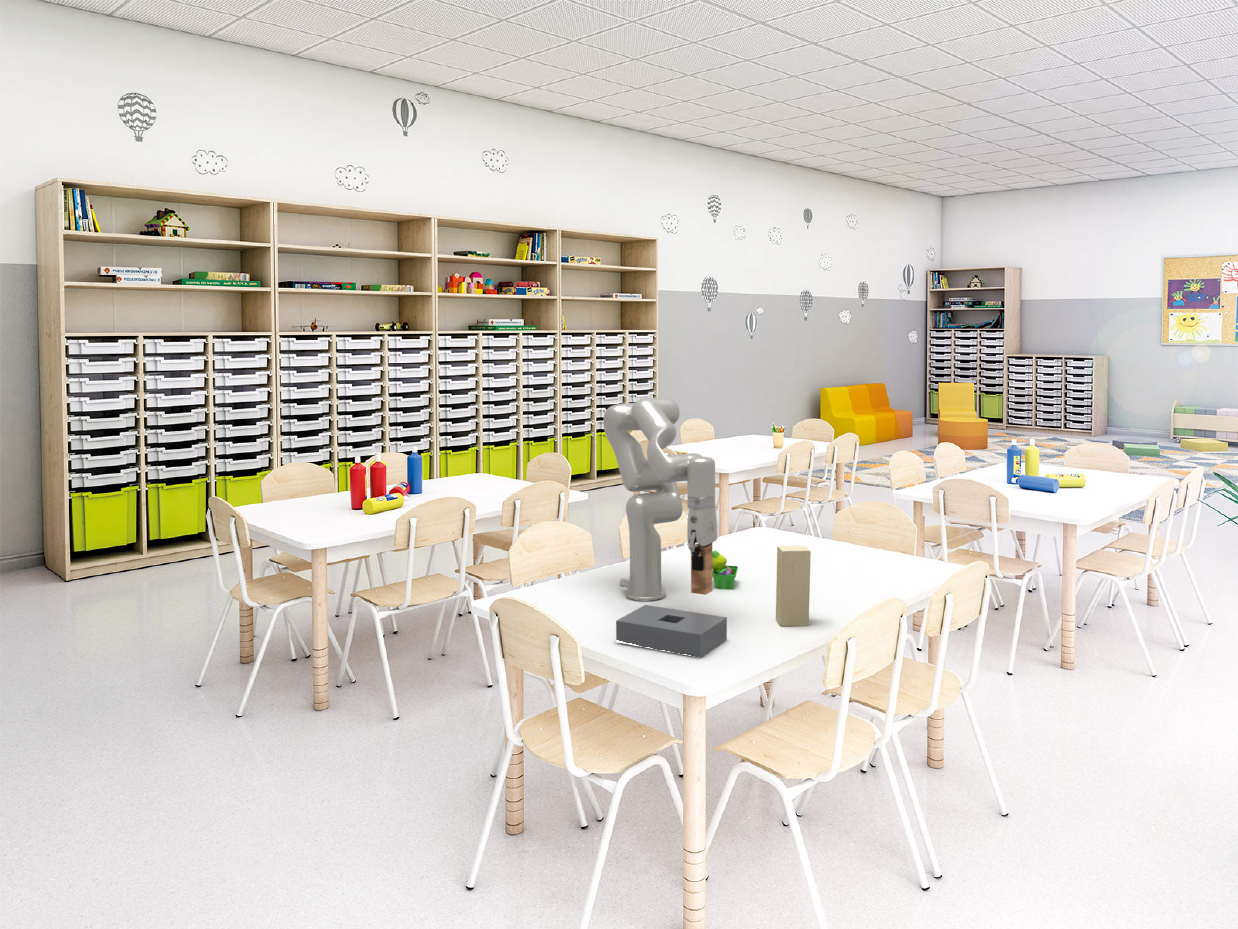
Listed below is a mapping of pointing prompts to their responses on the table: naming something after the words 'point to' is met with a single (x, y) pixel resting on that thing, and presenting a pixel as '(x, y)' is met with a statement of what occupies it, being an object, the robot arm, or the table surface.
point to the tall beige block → (793, 585)
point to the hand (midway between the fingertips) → (701, 567)
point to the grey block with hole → (672, 630)
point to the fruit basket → (722, 572)
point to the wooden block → (703, 573)
